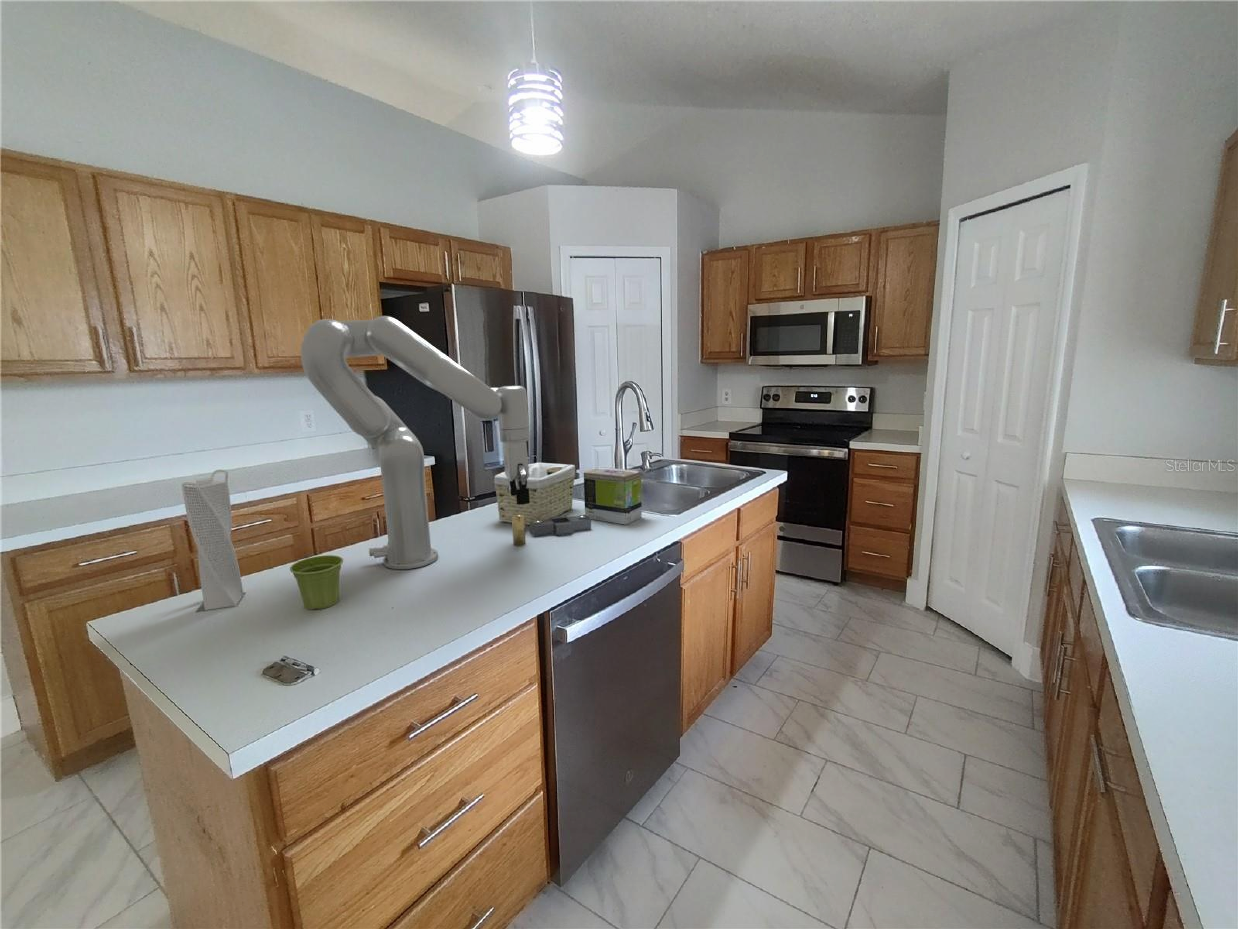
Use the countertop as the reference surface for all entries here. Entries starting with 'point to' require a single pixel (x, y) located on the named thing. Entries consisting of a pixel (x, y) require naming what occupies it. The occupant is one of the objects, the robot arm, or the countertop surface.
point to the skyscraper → (213, 542)
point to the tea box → (613, 495)
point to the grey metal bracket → (560, 525)
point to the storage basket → (538, 493)
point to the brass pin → (518, 529)
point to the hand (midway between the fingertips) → (520, 499)
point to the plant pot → (318, 580)
